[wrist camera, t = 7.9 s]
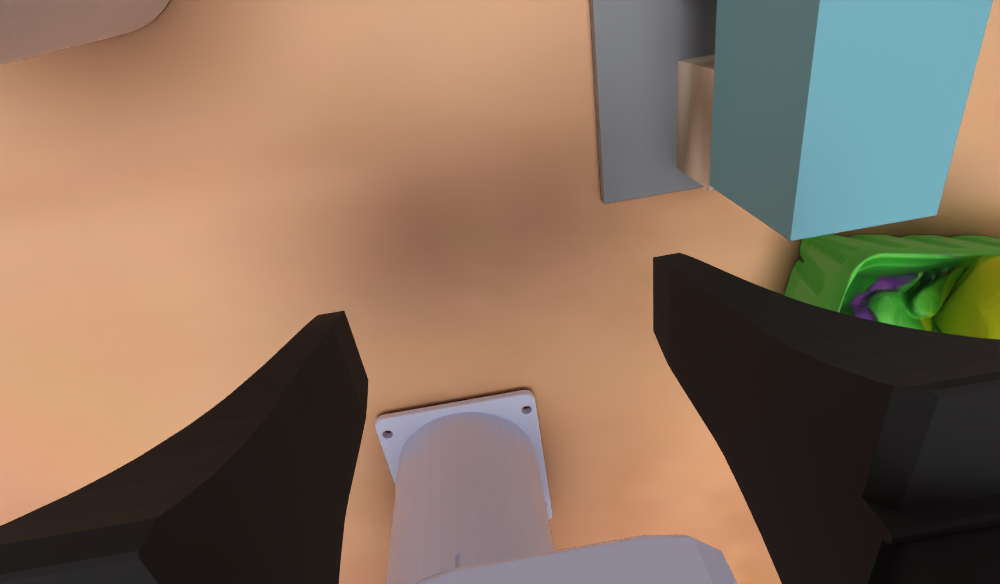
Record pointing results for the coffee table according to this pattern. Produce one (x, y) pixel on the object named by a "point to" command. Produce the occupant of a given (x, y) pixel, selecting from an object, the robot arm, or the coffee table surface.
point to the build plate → (643, 89)
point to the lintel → (840, 108)
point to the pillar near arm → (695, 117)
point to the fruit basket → (904, 280)
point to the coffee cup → (67, 23)
